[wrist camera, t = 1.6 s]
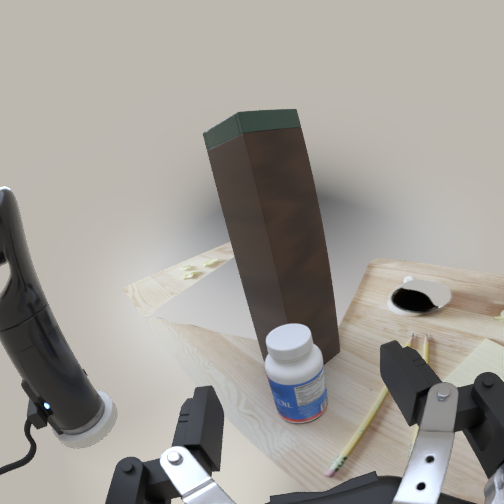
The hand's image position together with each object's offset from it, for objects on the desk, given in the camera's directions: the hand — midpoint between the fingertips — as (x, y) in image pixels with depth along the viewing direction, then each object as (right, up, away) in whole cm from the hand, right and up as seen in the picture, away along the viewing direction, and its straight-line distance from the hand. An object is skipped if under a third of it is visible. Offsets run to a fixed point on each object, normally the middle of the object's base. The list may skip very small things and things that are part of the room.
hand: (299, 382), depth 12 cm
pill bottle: (+3, -11, +14) cm, 18 cm away
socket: (-2, +18, +15) cm, 24 cm away
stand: (+4, -8, +23) cm, 24 cm away
